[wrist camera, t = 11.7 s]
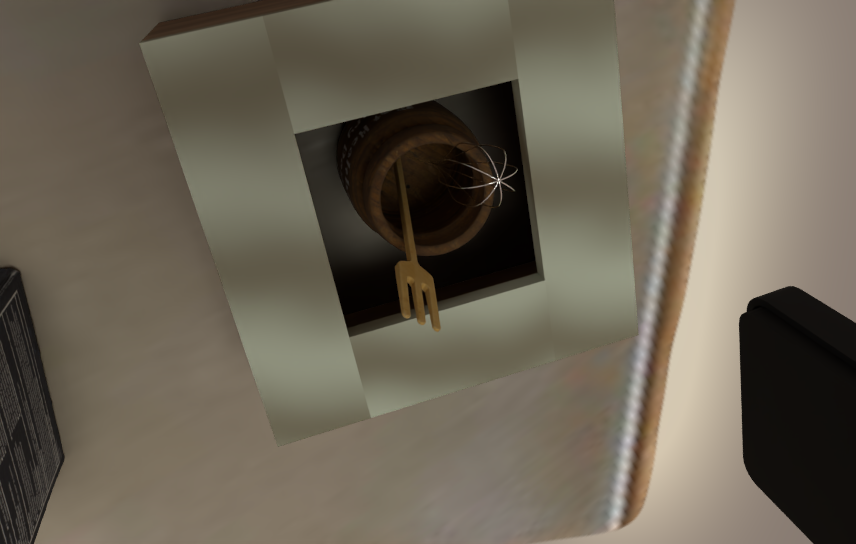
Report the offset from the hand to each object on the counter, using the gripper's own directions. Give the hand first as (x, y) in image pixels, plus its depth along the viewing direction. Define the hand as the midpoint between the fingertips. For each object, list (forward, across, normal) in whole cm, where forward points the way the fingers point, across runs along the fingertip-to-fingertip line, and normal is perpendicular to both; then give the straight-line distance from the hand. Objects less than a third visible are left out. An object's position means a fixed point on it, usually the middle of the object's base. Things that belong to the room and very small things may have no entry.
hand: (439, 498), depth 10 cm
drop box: (+26, -4, +4) cm, 26 cm away
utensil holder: (+26, -4, +4) cm, 27 cm away
